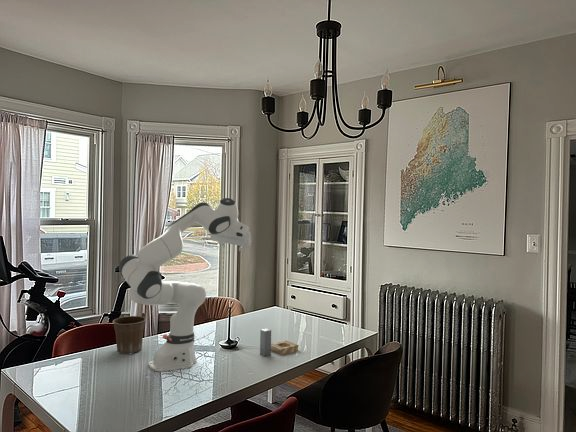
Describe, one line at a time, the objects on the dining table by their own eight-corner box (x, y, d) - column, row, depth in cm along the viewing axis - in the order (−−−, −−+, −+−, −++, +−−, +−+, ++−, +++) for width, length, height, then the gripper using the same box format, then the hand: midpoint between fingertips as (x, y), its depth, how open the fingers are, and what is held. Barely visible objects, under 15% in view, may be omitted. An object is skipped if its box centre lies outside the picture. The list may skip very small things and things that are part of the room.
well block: (280, 355, 230) (280, 349, 230) (268, 350, 238) (269, 344, 238) (298, 350, 238) (298, 345, 238) (286, 346, 246) (286, 340, 246)
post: (264, 356, 228) (265, 331, 227) (260, 354, 231) (260, 329, 230) (270, 355, 230) (271, 330, 230) (266, 353, 233) (266, 328, 233)
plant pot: (118, 357, 222) (118, 325, 222) (108, 349, 235) (108, 318, 235) (150, 351, 233) (150, 320, 232) (138, 343, 245) (138, 314, 245)
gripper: (207, 227, 213) (209, 249, 222) (247, 235, 210) (249, 256, 218) (211, 219, 218) (214, 241, 227) (252, 227, 215) (252, 248, 223)
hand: (231, 248), depth 223 cm, fingers open, 8 cm apart
